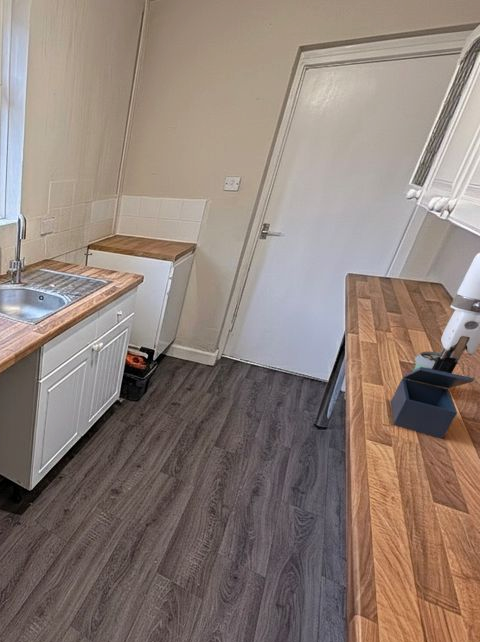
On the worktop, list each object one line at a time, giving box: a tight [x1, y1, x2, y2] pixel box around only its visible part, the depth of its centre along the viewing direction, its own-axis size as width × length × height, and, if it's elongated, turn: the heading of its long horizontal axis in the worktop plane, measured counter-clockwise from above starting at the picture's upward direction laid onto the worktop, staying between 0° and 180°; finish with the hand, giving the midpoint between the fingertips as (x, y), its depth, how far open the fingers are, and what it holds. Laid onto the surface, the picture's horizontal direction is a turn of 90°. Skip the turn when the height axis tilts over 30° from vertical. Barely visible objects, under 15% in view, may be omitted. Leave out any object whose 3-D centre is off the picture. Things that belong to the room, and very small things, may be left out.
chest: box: [390, 377, 458, 439], centre depth 109 cm, size 15×9×8 cm, turn 138°
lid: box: [402, 367, 475, 390], centre depth 107 cm, size 16×9×1 cm, turn 138°
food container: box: [412, 351, 441, 386], centre depth 126 cm, size 12×6×10 cm, turn 133°
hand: (440, 373), depth 104 cm, fingers closed
